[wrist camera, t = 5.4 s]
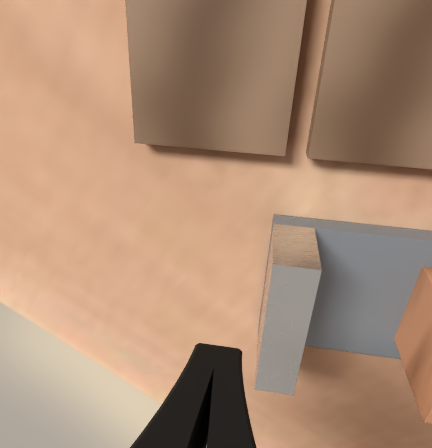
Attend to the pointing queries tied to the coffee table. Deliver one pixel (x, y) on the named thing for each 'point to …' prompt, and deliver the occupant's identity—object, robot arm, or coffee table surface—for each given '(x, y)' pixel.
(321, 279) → the grey tray
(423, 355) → the cube
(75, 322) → the coffee table surface
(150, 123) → the broken strip
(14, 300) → the coffee table surface
